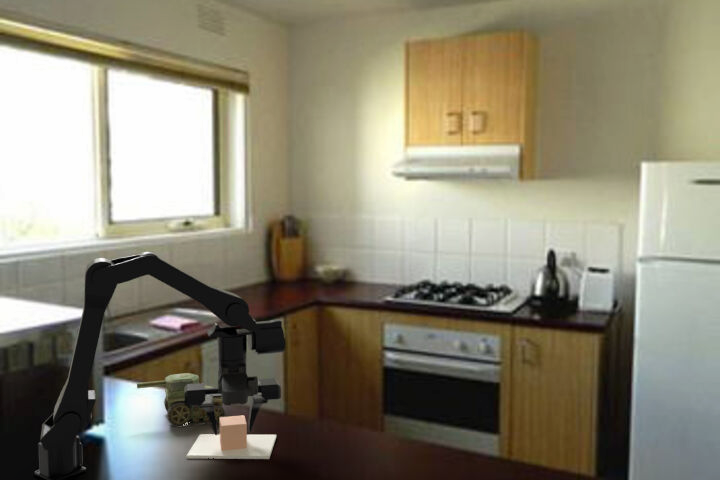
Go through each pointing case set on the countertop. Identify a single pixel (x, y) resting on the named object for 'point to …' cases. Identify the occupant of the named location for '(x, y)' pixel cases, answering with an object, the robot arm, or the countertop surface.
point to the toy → (183, 400)
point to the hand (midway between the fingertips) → (233, 433)
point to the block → (233, 432)
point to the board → (211, 449)
